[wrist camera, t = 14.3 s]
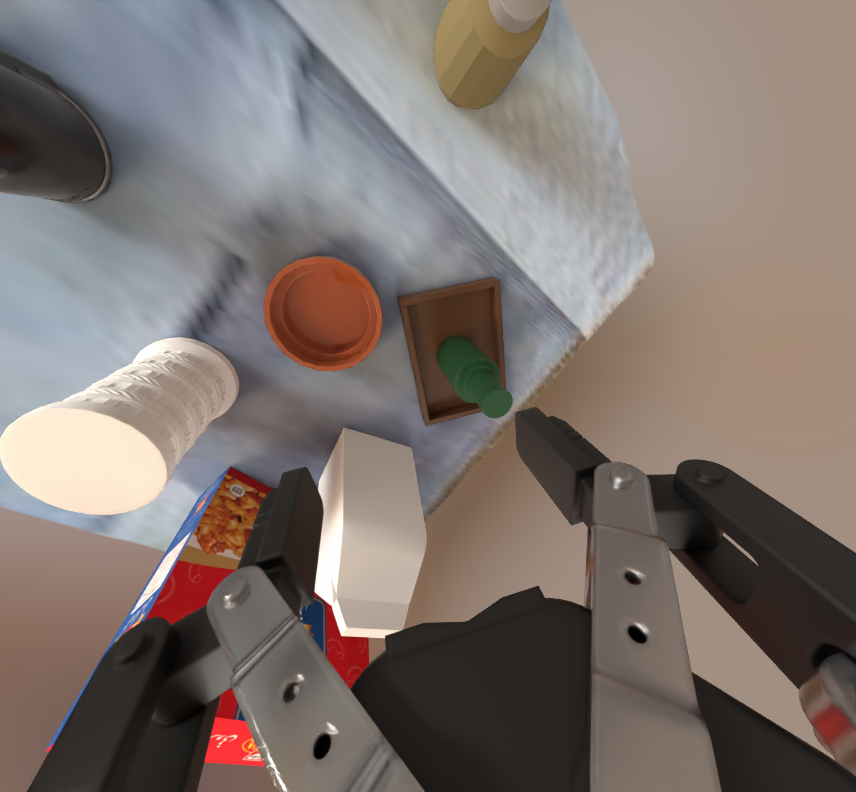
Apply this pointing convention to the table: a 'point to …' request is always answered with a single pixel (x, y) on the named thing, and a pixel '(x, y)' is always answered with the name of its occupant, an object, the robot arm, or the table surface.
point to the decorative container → (121, 430)
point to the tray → (440, 319)
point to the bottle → (473, 376)
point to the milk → (369, 534)
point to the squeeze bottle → (484, 46)
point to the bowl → (323, 313)
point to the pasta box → (196, 580)
